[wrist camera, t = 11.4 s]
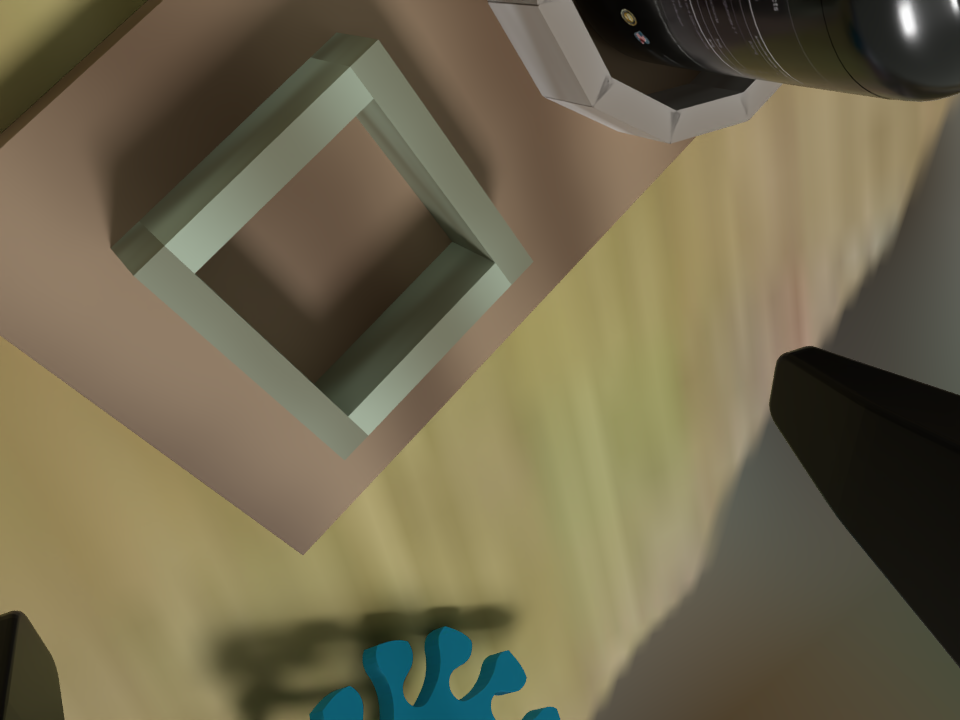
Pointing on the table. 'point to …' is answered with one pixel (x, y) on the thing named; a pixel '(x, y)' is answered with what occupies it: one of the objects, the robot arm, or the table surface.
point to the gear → (430, 683)
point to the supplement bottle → (796, 41)
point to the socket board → (320, 219)
